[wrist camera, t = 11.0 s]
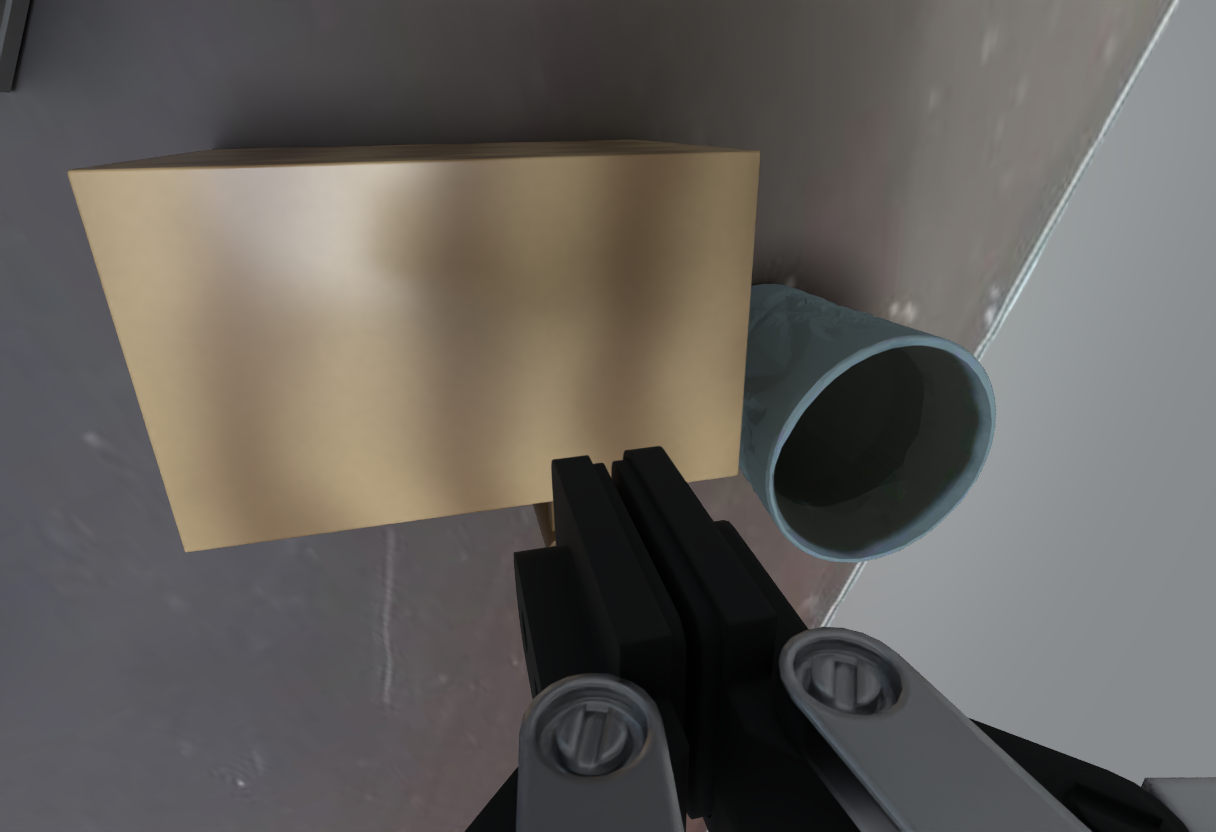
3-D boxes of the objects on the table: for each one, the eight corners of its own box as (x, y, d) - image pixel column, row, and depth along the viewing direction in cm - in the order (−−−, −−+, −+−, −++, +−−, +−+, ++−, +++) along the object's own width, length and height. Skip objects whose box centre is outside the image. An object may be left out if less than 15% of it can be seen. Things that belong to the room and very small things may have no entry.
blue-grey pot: (845, 261, 37) (1019, 320, 26) (832, 431, 41) (977, 540, 30) (666, 284, 35) (775, 357, 24) (671, 459, 39) (766, 588, 28)
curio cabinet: (637, 139, 32) (761, 150, 20) (636, 379, 37) (737, 500, 25) (211, 149, 28) (64, 170, 16) (272, 417, 33) (192, 580, 21)
